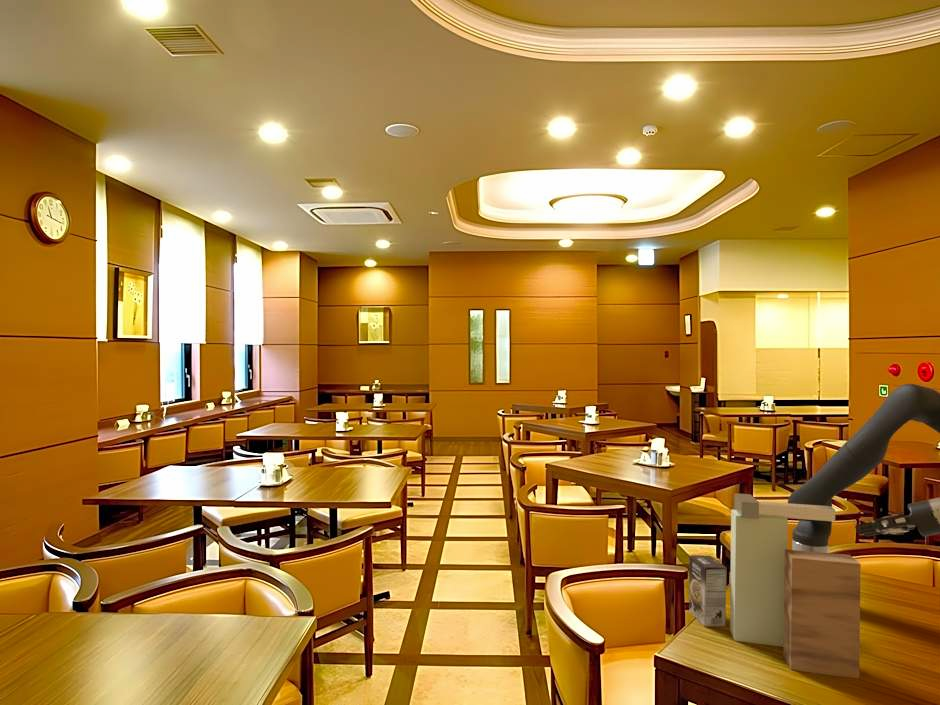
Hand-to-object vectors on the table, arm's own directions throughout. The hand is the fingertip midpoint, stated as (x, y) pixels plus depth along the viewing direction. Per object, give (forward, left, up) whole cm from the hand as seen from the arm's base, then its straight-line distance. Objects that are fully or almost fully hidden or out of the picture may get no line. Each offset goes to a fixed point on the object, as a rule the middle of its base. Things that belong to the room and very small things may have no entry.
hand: (859, 531), depth 140 cm
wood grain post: (+9, -11, -30) cm, 34 cm away
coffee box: (-10, -33, -30) cm, 46 cm away
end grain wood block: (-2, -16, +2) cm, 17 cm away
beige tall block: (-2, -22, -30) cm, 38 cm away
